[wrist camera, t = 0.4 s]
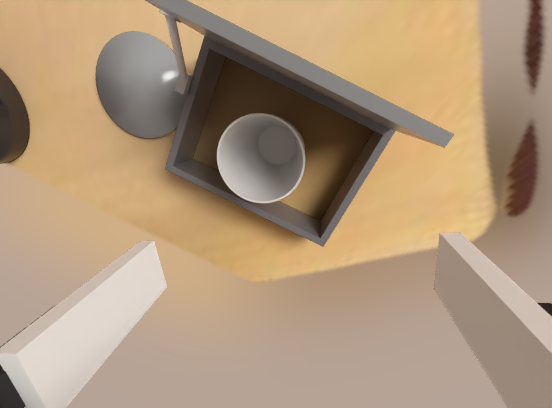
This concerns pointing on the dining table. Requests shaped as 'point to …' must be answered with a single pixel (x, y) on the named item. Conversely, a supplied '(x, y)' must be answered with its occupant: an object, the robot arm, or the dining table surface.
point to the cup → (261, 157)
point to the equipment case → (294, 75)
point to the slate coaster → (140, 84)
